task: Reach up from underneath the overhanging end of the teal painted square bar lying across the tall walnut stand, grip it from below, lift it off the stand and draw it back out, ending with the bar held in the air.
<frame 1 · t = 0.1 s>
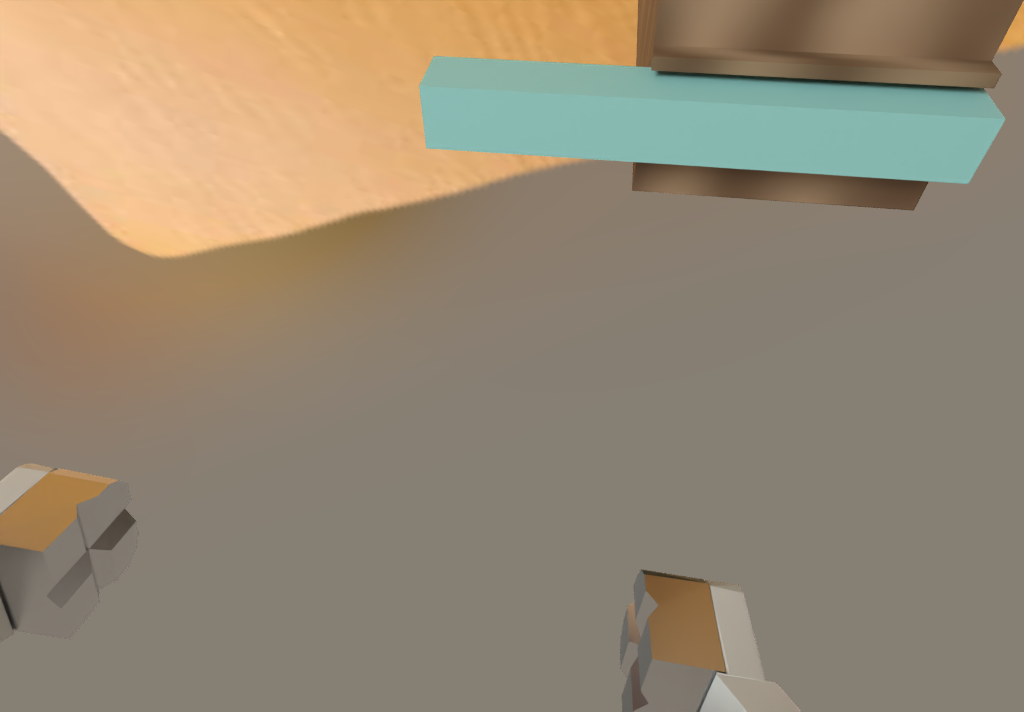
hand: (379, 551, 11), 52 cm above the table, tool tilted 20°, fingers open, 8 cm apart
teal rod: (690, 101, 31), point 26 cm above the table, touching walnut stand
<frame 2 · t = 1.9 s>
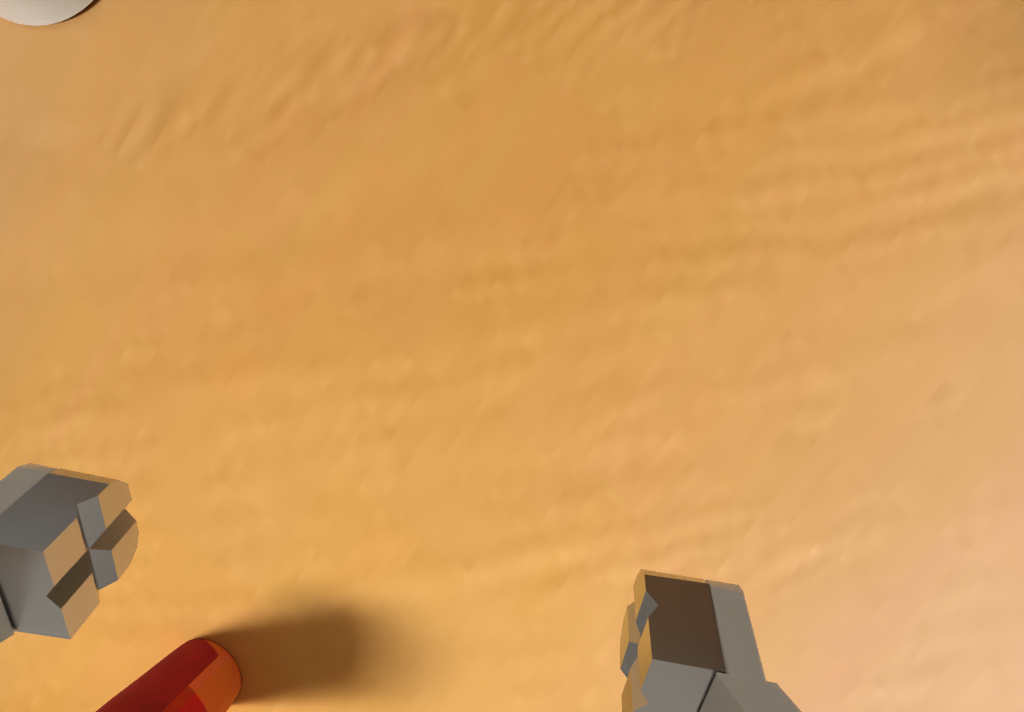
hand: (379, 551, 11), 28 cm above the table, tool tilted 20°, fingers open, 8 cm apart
paper cup: (210, 671, 49), on the table
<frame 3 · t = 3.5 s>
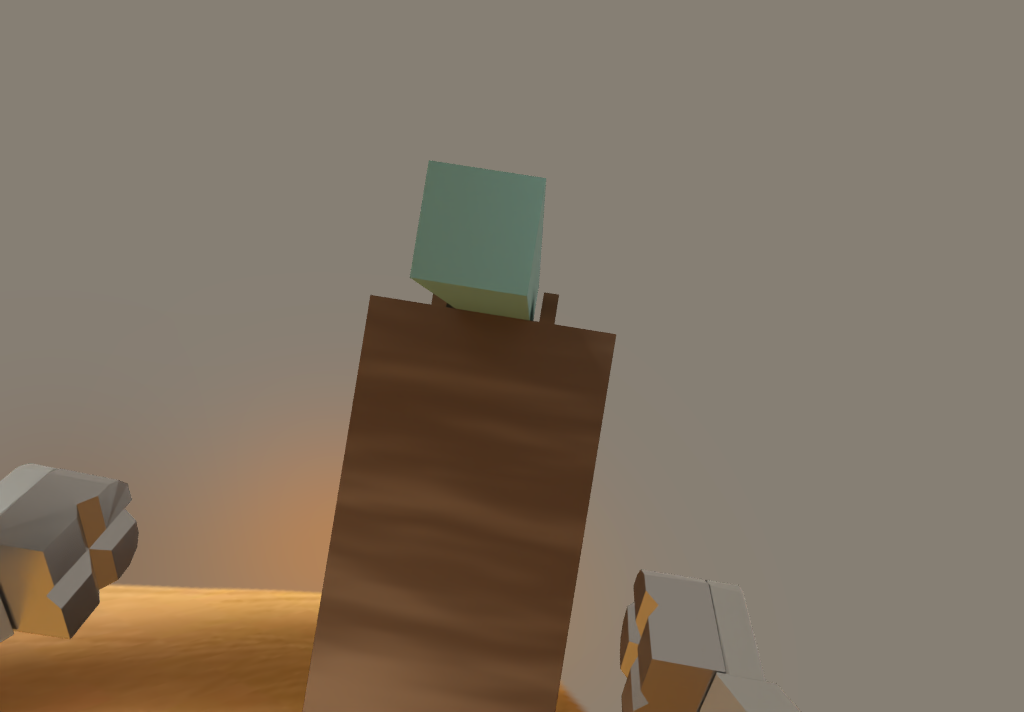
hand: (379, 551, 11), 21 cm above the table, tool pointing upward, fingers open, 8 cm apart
teal rod: (495, 317, 29), point 26 cm above the table, touching walnut stand
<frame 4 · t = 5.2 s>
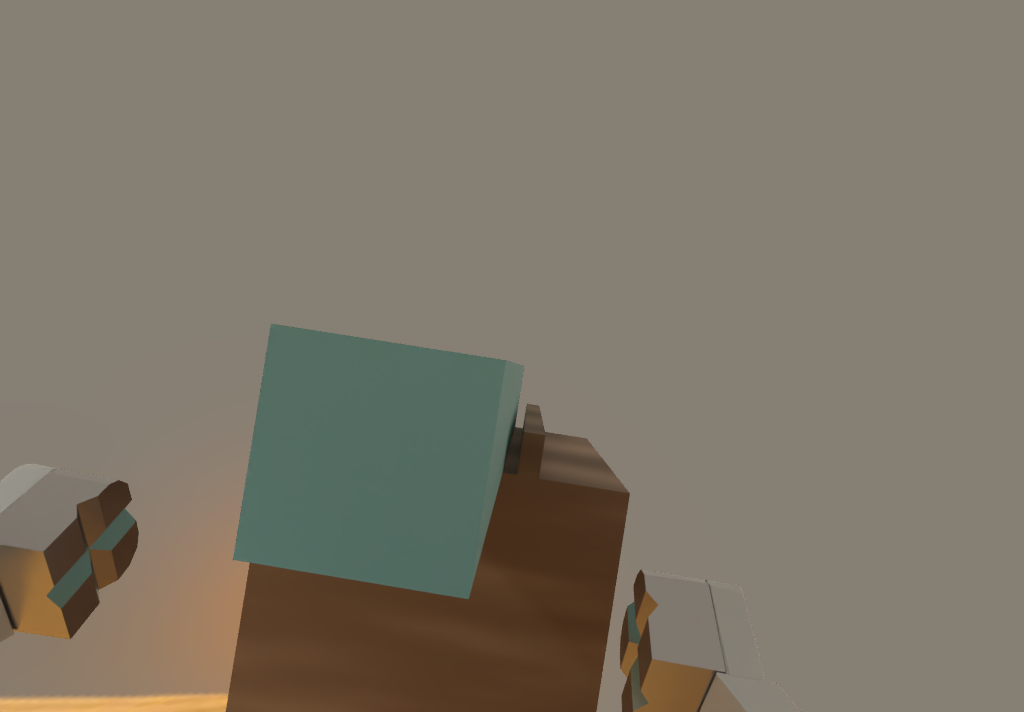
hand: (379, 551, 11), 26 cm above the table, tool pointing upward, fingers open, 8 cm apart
teal rod: (456, 454, 20), point 26 cm above the table, touching walnut stand
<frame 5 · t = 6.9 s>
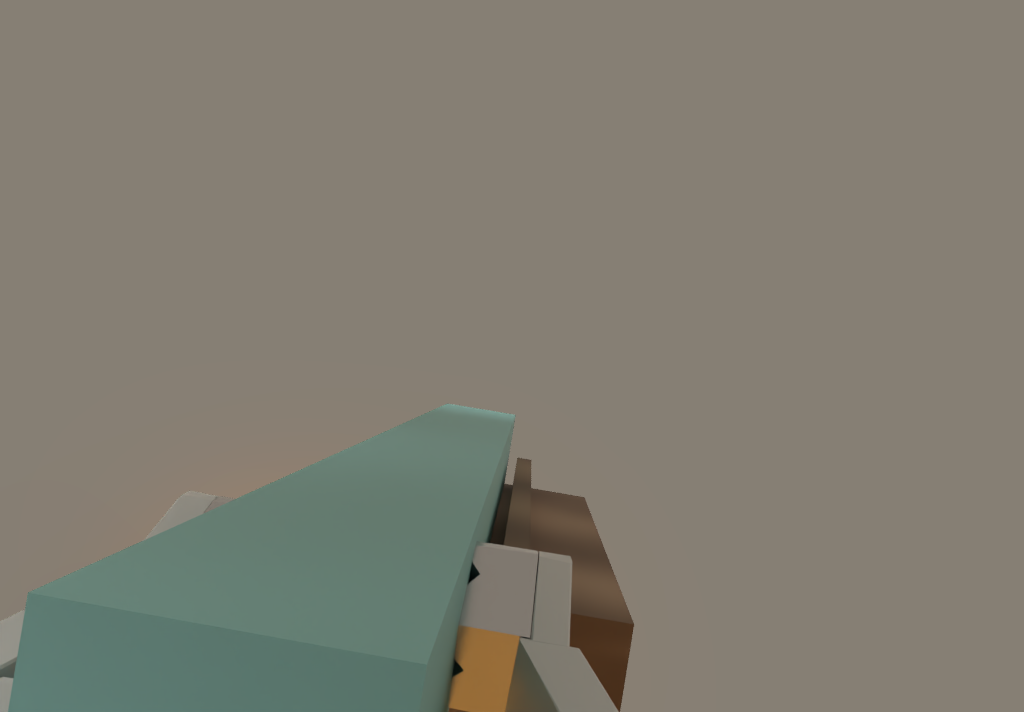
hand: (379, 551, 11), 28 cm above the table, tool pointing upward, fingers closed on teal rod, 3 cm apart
teal rod: (425, 558, 17), point 26 cm above the table, touching gripper, walnut stand
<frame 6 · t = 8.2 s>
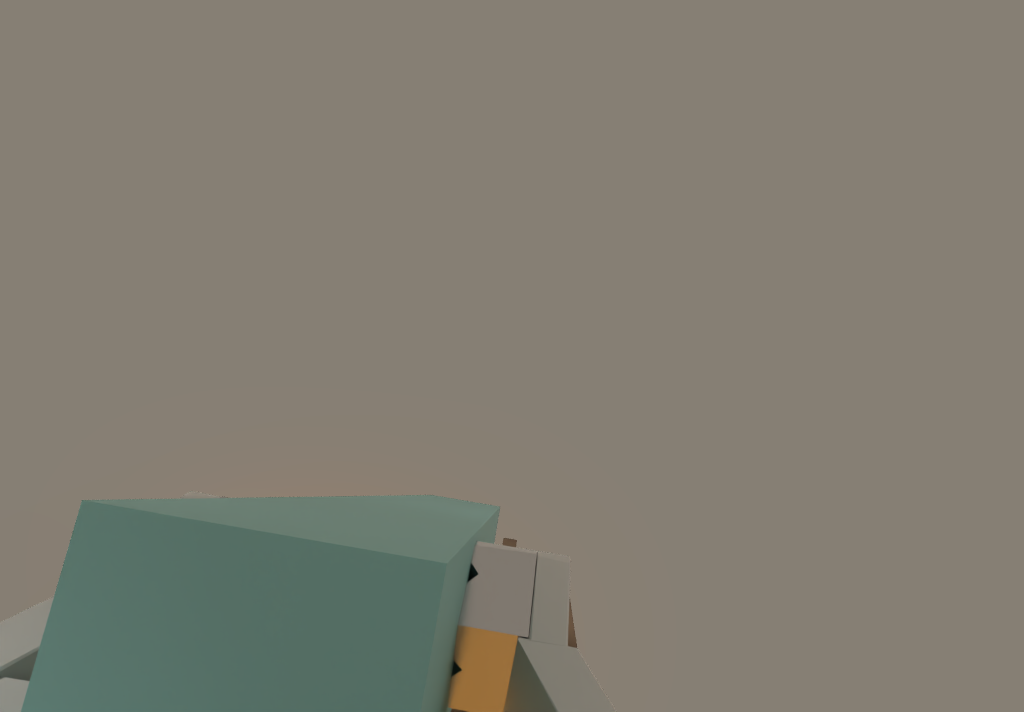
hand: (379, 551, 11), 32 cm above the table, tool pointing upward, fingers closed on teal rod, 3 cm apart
teal rod: (411, 628, 16), point 28 cm above the table, tilted 11°, touching gripper
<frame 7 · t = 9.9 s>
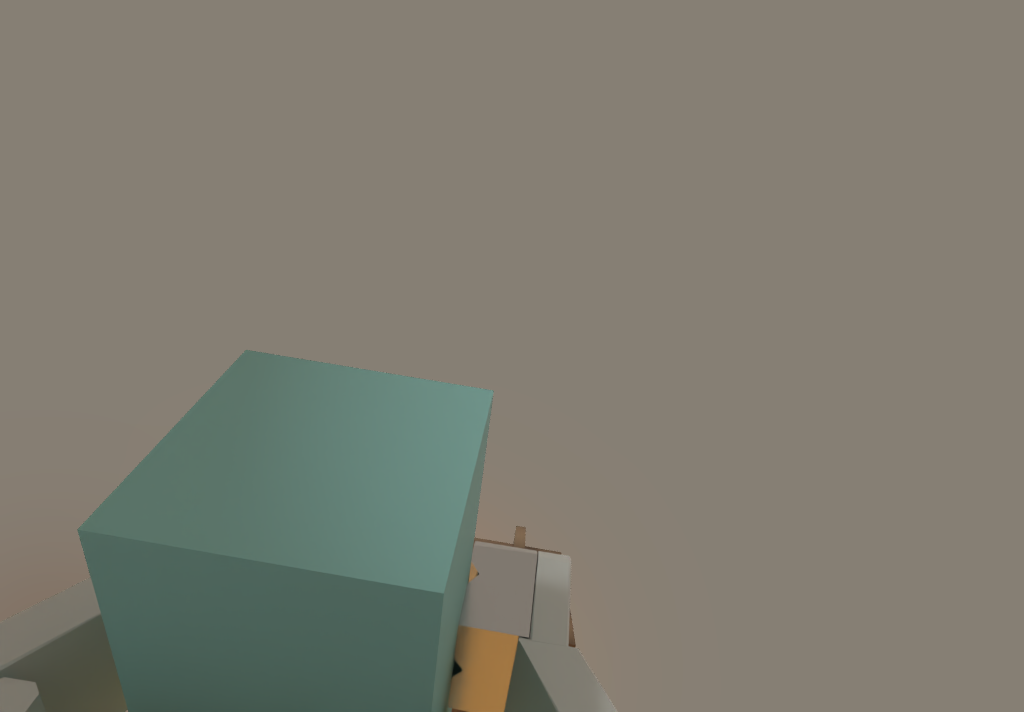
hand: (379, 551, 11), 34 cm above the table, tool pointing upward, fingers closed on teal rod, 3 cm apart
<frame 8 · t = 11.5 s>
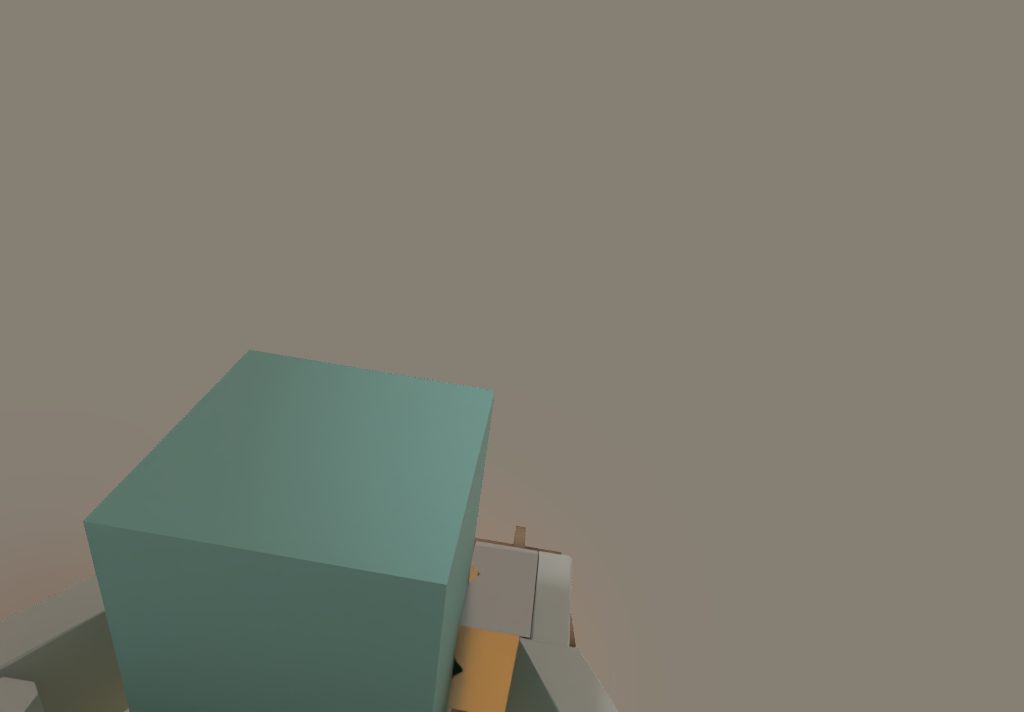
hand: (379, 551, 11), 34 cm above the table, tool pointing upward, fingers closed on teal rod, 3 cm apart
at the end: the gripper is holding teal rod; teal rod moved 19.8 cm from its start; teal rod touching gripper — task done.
